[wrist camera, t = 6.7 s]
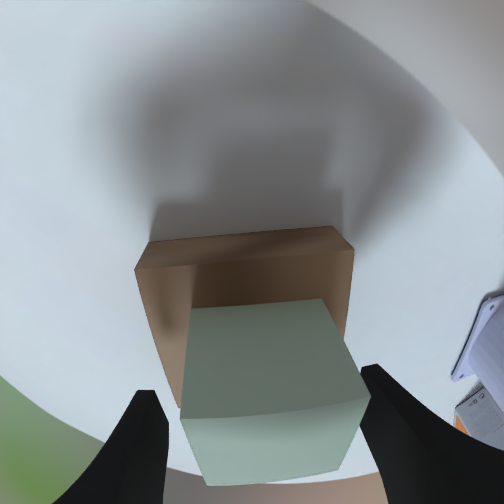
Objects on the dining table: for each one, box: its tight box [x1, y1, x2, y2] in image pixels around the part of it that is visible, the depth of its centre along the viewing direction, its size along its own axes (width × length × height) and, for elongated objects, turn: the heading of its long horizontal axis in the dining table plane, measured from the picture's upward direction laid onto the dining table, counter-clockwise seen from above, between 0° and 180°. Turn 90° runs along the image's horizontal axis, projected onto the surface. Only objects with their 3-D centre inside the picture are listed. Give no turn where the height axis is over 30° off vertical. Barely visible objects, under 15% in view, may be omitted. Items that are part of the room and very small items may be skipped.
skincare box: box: [453, 387, 504, 451], centre depth 18 cm, size 6×4×12 cm
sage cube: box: [180, 298, 371, 486], centre depth 10 cm, size 5×5×5 cm
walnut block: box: [134, 226, 355, 408], centre depth 14 cm, size 8×8×3 cm
